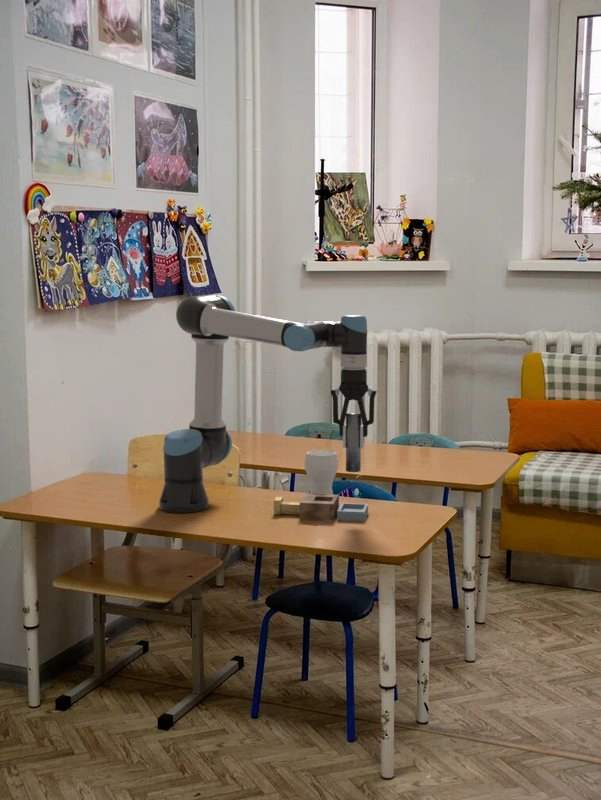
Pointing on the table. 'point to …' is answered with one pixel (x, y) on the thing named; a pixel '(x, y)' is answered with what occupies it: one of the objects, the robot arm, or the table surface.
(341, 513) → the grey open tray
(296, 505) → the bar
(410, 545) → the table surface
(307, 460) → the cup
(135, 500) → the table surface
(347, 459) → the grey metal bar
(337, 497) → the socket block
